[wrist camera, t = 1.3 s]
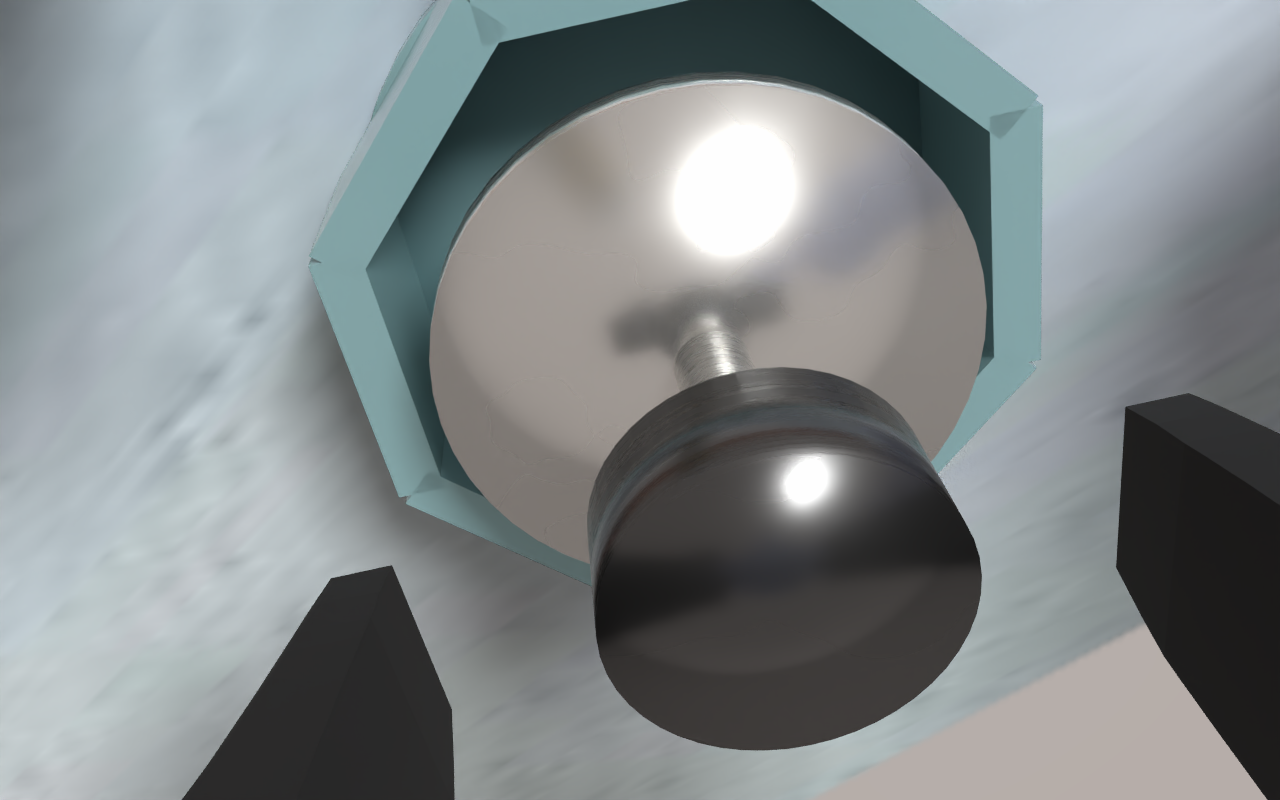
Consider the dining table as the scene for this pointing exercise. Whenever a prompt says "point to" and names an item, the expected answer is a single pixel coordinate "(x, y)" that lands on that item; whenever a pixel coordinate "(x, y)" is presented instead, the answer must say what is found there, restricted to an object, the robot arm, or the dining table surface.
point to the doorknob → (727, 396)
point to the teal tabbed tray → (596, 66)
